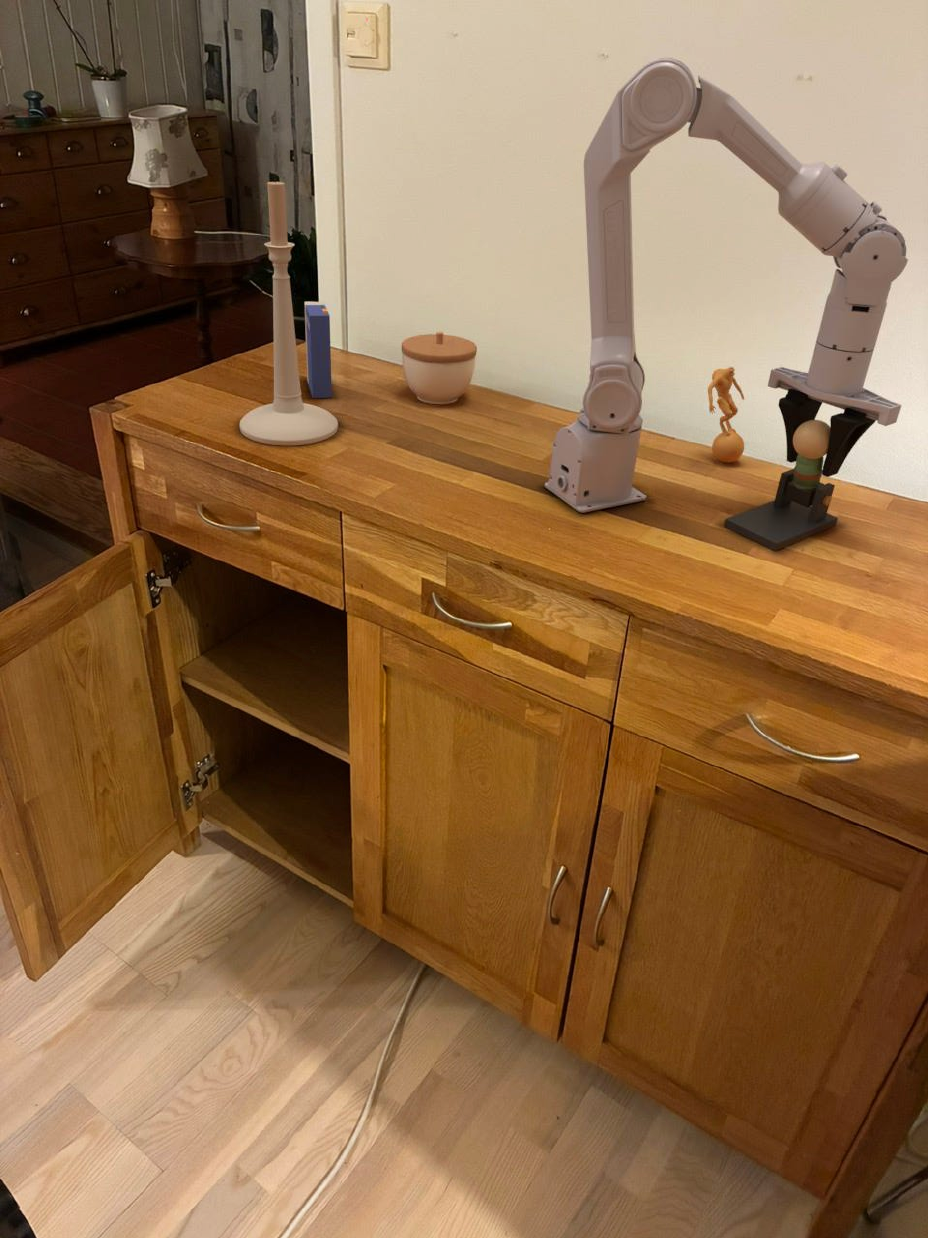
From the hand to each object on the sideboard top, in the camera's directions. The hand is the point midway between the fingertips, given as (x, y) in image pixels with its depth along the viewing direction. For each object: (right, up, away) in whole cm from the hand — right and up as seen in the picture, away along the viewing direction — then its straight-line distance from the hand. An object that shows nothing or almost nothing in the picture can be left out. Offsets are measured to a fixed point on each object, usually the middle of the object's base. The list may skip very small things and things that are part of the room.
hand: (812, 467), depth 102 cm
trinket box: (-43, +15, +33) cm, 56 cm away
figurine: (-6, +4, +18) cm, 19 cm away
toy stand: (-3, -6, +2) cm, 7 cm away
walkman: (-60, +17, +33) cm, 70 cm away
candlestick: (-62, +8, +20) cm, 65 cm away
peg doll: (0, -3, +2) cm, 4 cm away
